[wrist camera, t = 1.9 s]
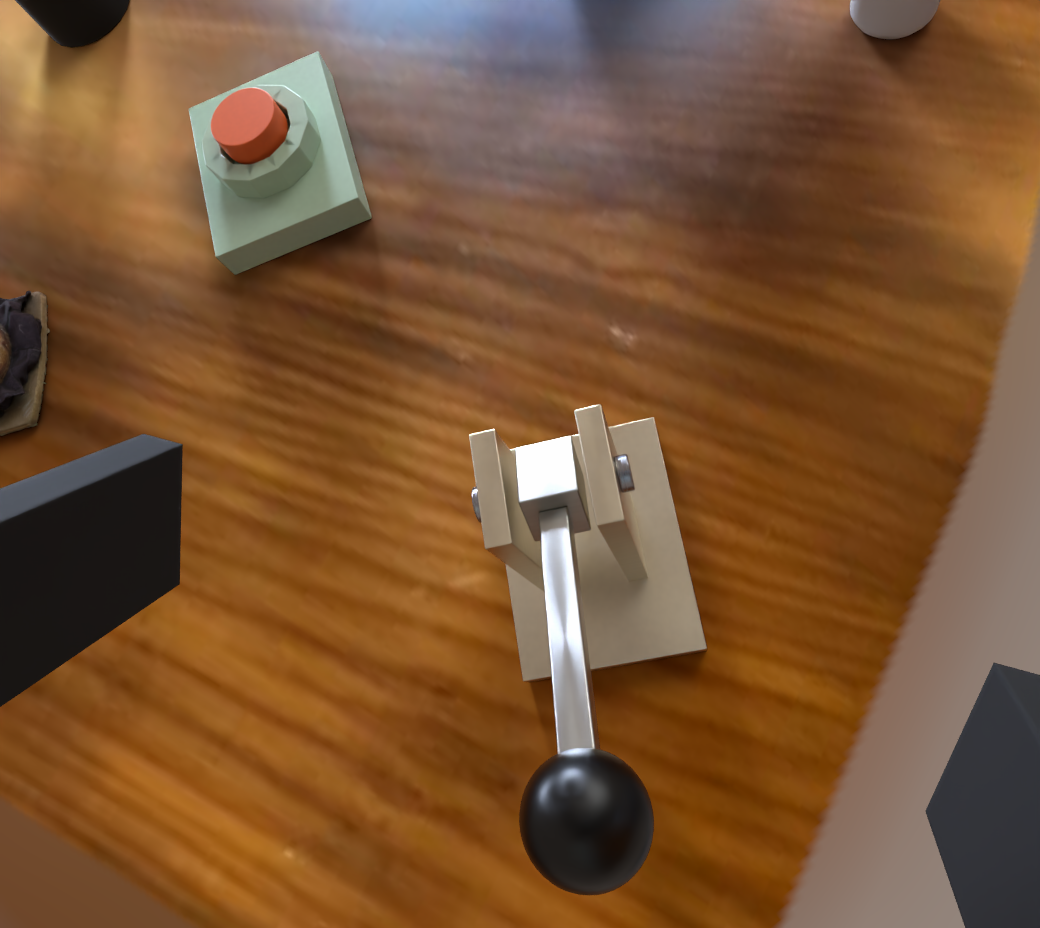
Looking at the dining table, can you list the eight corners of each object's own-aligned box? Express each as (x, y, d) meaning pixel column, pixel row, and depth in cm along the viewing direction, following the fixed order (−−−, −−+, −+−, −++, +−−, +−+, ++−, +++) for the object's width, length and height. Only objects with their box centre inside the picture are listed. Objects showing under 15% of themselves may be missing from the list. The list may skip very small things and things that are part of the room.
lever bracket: (707, 650, 38) (710, 620, 25) (528, 682, 39) (443, 668, 26) (655, 425, 42) (634, 298, 29) (495, 461, 43) (407, 356, 30)
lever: (673, 902, 20) (654, 862, 18) (541, 919, 21) (505, 881, 18) (603, 482, 31) (585, 419, 28) (517, 500, 32) (492, 440, 29)
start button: (294, 148, 48) (279, 128, 47) (231, 174, 49) (215, 156, 47) (281, 97, 50) (267, 76, 48) (221, 123, 50) (205, 104, 49)
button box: (372, 218, 50) (345, 178, 46) (234, 275, 51) (198, 241, 47) (332, 75, 54) (305, 29, 51) (207, 130, 56) (171, 88, 52)
